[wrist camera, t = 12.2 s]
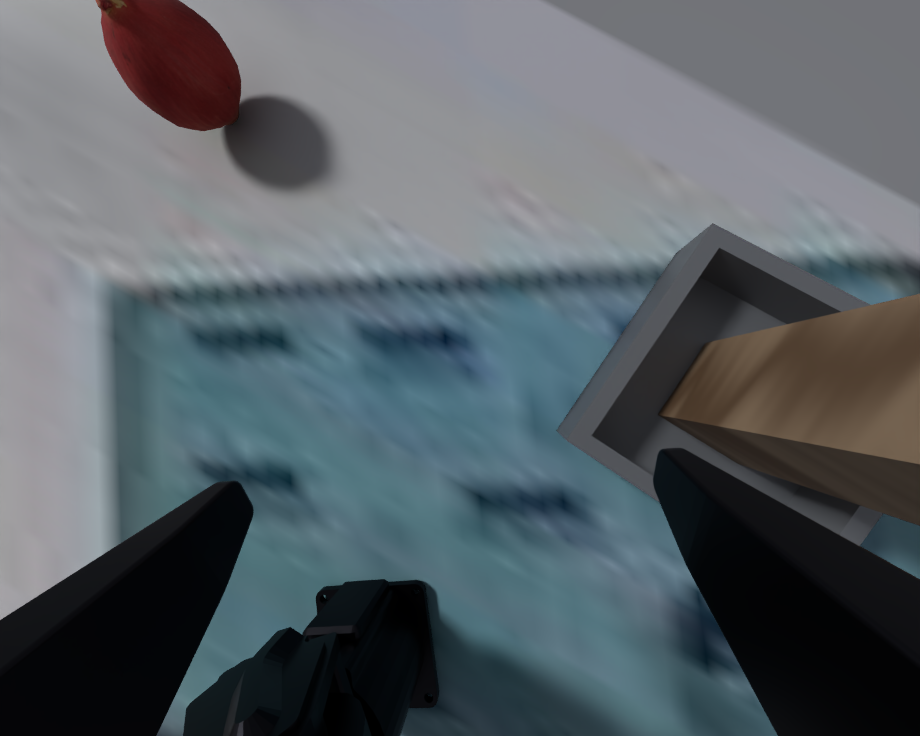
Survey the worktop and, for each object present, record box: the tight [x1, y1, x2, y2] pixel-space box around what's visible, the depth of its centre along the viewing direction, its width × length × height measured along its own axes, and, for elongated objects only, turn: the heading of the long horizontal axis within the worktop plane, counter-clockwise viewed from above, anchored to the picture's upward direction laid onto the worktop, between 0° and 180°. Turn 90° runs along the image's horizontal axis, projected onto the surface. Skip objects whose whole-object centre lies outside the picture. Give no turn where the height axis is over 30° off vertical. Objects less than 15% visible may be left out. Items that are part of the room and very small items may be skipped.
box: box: [557, 224, 883, 546], centre depth 16 cm, size 12×12×4 cm
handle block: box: [658, 294, 920, 526], centre depth 12 cm, size 4×4×12 cm
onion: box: [96, 0, 241, 131], centre depth 20 cm, size 6×6×8 cm
